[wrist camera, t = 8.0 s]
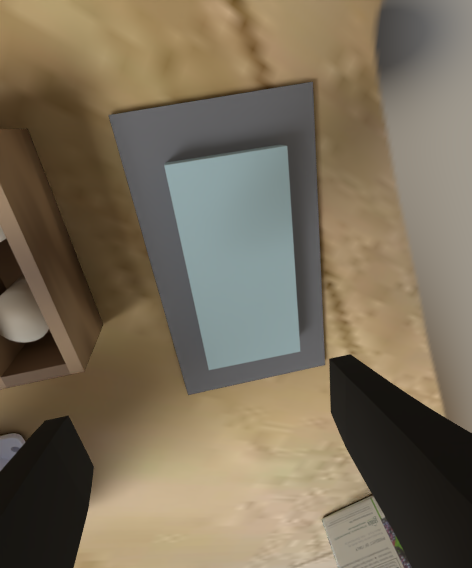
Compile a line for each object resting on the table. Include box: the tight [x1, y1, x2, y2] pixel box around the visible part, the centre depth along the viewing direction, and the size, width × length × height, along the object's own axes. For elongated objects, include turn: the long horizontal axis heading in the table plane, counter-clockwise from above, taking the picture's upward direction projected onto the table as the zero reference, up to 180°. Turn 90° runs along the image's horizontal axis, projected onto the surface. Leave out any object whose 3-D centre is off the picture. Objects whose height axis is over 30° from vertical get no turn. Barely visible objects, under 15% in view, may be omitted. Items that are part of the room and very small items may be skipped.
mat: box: [109, 82, 325, 395], centre depth 18 cm, size 16×9×1 cm, turn 9°
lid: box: [164, 145, 300, 370], centre depth 17 cm, size 11×5×1 cm, turn 8°
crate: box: [0, 129, 103, 389], centre depth 15 cm, size 10×4×4 cm, turn 9°
